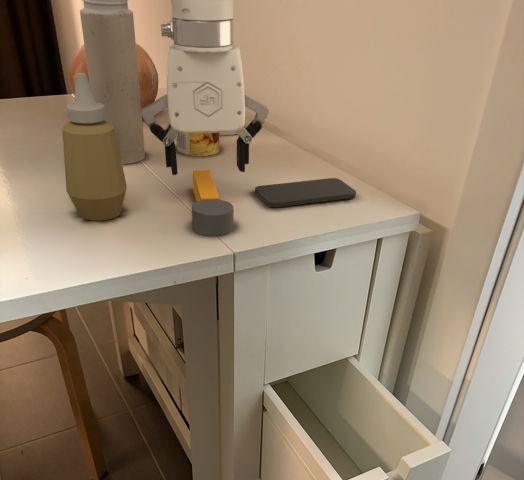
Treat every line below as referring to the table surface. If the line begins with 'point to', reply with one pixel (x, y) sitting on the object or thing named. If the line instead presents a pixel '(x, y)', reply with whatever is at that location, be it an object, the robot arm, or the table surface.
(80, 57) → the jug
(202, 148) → the canned food
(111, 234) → the table surface
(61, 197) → the table surface
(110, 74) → the thermos bottle
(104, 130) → the squeeze bottle
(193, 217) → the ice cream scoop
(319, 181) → the phone
